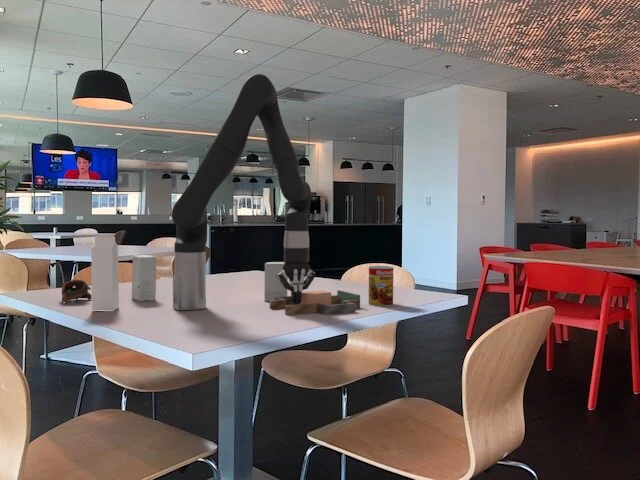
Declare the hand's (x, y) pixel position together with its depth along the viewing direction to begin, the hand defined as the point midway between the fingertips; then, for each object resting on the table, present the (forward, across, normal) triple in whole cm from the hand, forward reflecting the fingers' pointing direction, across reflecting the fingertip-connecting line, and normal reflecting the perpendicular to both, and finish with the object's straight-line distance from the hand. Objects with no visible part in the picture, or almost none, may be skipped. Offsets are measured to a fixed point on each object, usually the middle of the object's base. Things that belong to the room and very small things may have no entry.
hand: (296, 303), depth 155 cm
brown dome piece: (+2, -57, +48) cm, 75 cm away
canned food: (+2, +29, -3) cm, 29 cm away
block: (+2, +6, 0) cm, 7 cm away
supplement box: (+2, +3, +21) cm, 21 cm away
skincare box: (+2, -36, +43) cm, 56 cm away
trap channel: (+2, +6, 0) cm, 6 cm away
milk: (+2, -50, +27) cm, 57 cm away
